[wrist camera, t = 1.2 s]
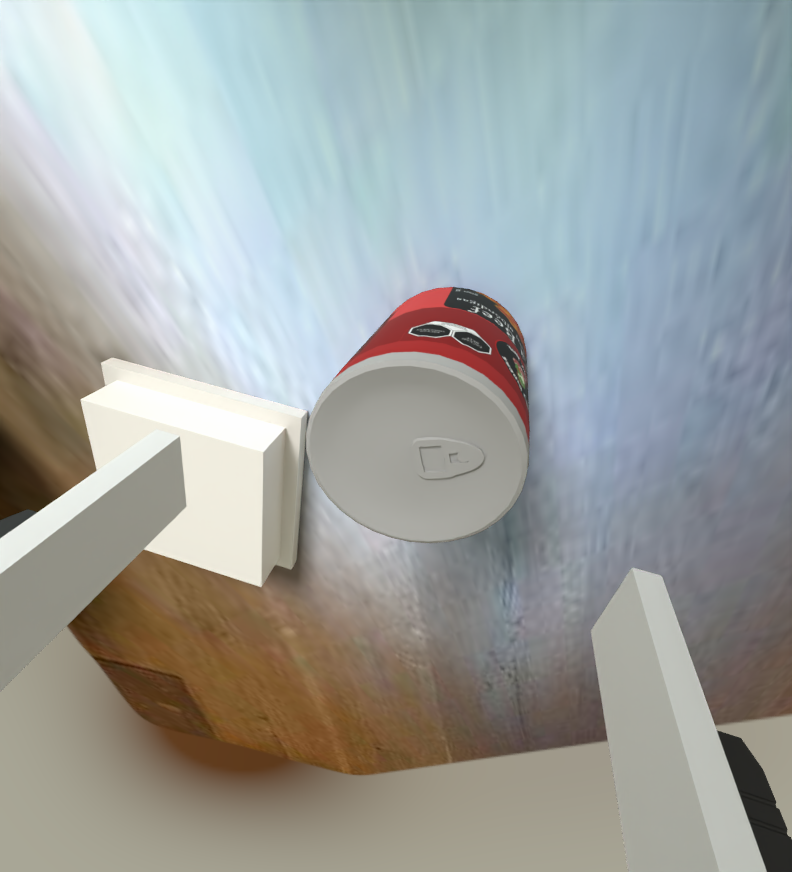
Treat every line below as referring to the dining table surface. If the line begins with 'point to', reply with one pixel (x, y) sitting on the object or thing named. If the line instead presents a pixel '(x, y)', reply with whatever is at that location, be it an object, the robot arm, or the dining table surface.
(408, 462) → the canned food
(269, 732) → the dining table surface
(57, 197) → the dining table surface
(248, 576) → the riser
